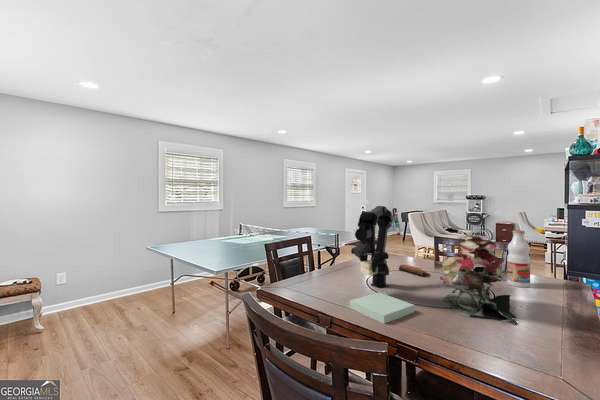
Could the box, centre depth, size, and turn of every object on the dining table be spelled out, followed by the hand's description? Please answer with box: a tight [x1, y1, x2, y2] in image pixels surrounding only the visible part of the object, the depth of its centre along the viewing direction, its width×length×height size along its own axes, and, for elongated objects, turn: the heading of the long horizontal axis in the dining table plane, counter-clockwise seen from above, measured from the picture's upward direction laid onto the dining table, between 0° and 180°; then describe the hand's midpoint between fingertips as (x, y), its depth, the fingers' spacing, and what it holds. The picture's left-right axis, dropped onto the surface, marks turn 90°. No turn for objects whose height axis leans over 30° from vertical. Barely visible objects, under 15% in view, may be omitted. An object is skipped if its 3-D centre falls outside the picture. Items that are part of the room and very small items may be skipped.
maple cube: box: [360, 259, 378, 276], centre depth 135 cm, size 6×6×6 cm
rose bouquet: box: [439, 235, 518, 326], centre depth 118 cm, size 26×29×30 cm
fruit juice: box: [506, 229, 531, 289], centre depth 147 cm, size 9×9×28 cm
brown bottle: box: [398, 264, 431, 278], centre depth 172 cm, size 18×7×7 cm
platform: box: [349, 292, 415, 324], centre depth 117 cm, size 18×18×3 cm
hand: (369, 271), depth 135 cm, fingers closed on maple cube, 5 cm apart
